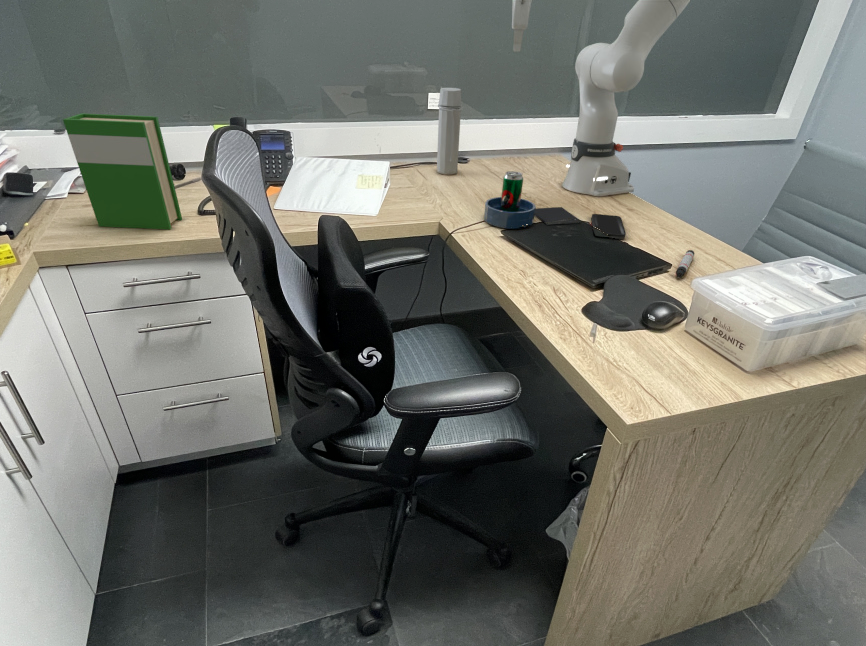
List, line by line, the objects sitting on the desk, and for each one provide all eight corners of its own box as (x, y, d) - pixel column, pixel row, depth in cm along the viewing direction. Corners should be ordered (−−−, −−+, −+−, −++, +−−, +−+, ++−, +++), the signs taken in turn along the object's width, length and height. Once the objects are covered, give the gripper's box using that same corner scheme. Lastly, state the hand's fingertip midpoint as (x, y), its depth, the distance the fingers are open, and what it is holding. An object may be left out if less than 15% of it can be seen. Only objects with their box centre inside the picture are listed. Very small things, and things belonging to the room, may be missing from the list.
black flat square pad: (561, 209, 155) (561, 206, 154) (580, 223, 145) (581, 221, 145) (528, 210, 153) (529, 208, 152) (546, 225, 143) (547, 223, 143)
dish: (521, 211, 152) (523, 195, 149) (541, 228, 141) (543, 211, 139) (477, 214, 149) (478, 198, 146) (493, 231, 138) (495, 214, 136)
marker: (684, 257, 128) (687, 249, 127) (693, 258, 128) (695, 250, 126) (672, 280, 118) (674, 271, 116) (681, 282, 117) (684, 273, 116)
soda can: (519, 223, 143) (525, 176, 136) (499, 222, 143) (504, 175, 136) (516, 216, 147) (522, 171, 140) (498, 216, 147) (503, 170, 140)
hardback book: (182, 219, 139) (157, 116, 124) (170, 229, 133) (142, 122, 118) (114, 216, 139) (81, 113, 125) (98, 226, 133) (62, 119, 119)
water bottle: (433, 170, 184) (435, 87, 170) (455, 169, 186) (459, 87, 171) (439, 177, 177) (443, 91, 163) (462, 176, 179) (468, 91, 164)
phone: (620, 216, 147) (626, 235, 135) (619, 220, 148) (625, 239, 136) (591, 213, 148) (594, 232, 136) (590, 217, 149) (593, 236, 137)
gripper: (539, -21, 117) (530, 54, 125) (536, -18, 134) (528, 47, 142) (510, -22, 118) (503, 52, 126) (511, -19, 134) (504, 46, 142)
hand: (516, 50), depth 134 cm, fingers open, 8 cm apart
